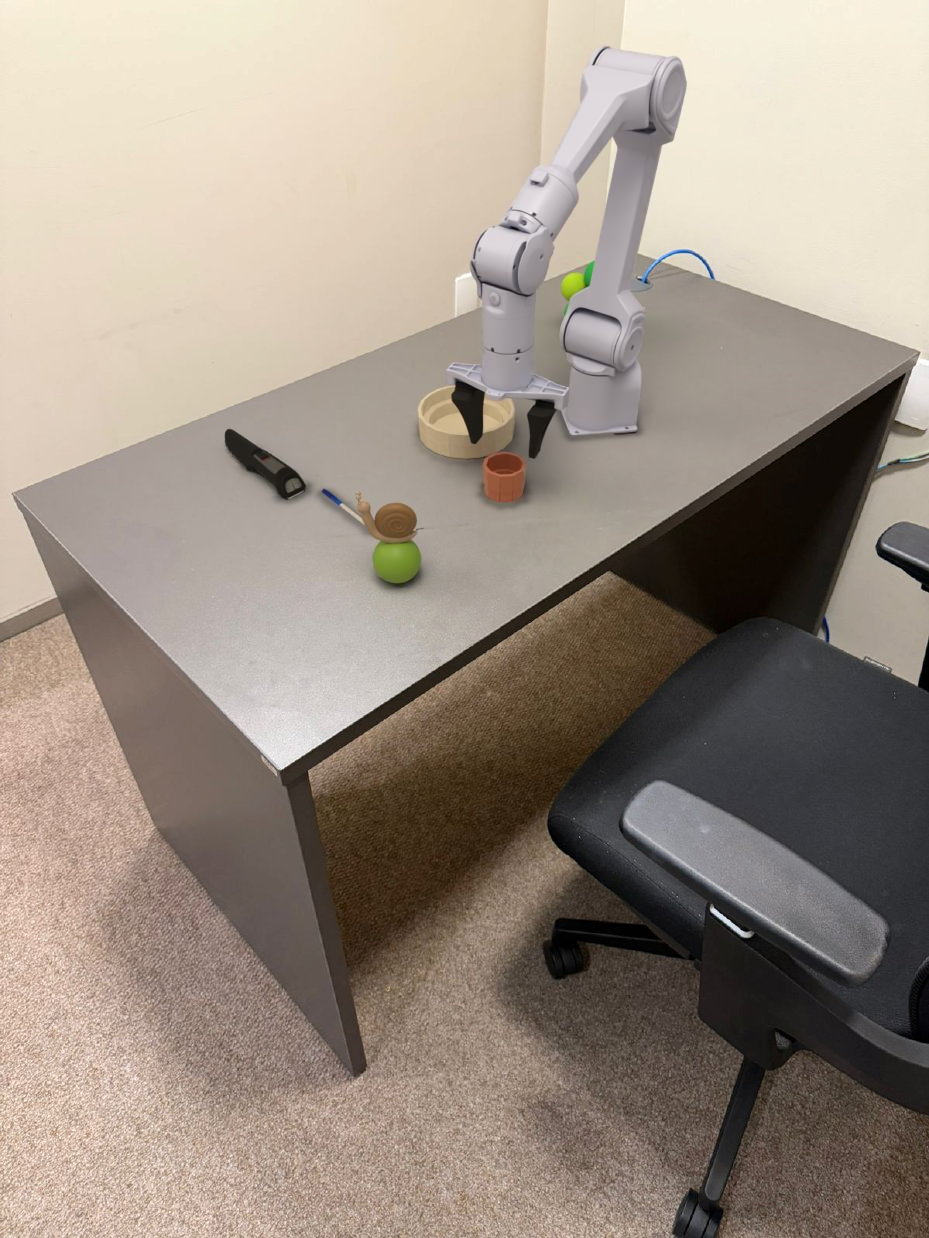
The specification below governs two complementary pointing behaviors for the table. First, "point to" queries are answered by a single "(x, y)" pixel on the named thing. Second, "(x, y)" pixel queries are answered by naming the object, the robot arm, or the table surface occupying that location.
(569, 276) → the molecule model
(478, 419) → the robot arm
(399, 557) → the snail figurine
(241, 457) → the electric trimmer
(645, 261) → the table surface
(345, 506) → the ballpoint pen
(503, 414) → the cream bowl
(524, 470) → the terracotta pot
